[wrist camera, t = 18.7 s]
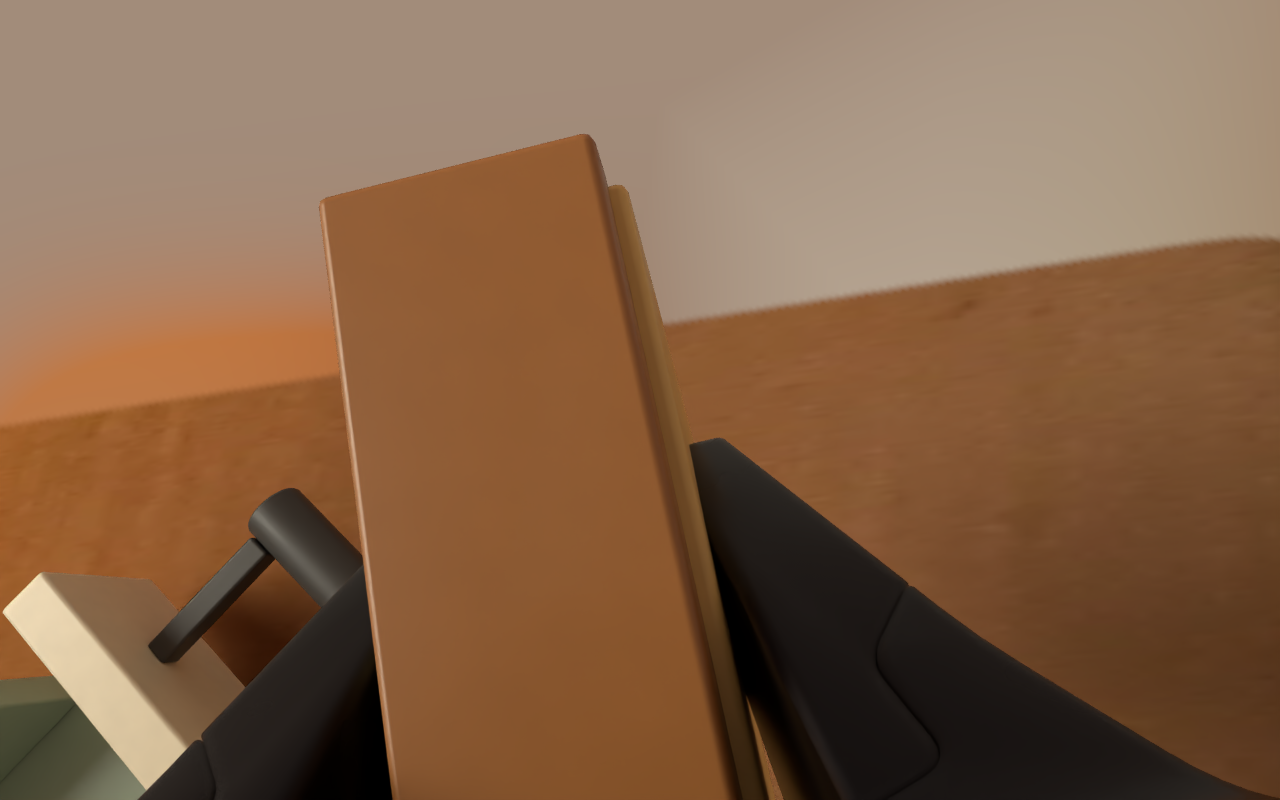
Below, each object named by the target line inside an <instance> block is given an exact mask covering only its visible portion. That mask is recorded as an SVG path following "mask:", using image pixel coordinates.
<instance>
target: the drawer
mask: <svg viewBox="0 0 1280 800" xmlns="http://www.w3.org/2000/svg"><path fill="white" fill-rule="evenodd" d="M248 527H249V531H250V532H251V533H252V534H253V535H254V536H255V537H256V538H250V539H249V540H248V541H247V542H246V543H245V544H244V545H243V546H242V547H241V548H240V549H239V550H238V551H237V553H236V554H235V555H234V556H233V557H232V558H231V559H230V560H229V561H228V562H227V563H226V564H225V565H224V566H223V567H222V568H221V569H220V570H219V571H218V572H217V573H216V574H215V575H214V576H213V578H212V579H211V580H210V581H209V582H208V583H207V584H206V585H205V586H204V587H203V588H202V589H201V590H200V591H199V592H198V593H197V594H196V595H195V596H194V597H193V598H192V599H191V600H190V602H189V603H188V604H187V605H186V606H185V607H184V608H183V609H182V610H181V611H180V612H179V611H178V610H177V609H176V608H175V607H174V605H173V604H172V603H171V602H170V601H169V600H168V599H167V597H166V596H165V595H164V594H163V593H162V592H161V591H160V589H159V588H158V587H157V586H156V585H155V584H154V583H153V582H152V580H149V579H137V578H123V577H109V576H94V575H80V574H66V573H51V572H42V573H40V574H38V575H37V576H36V577H35V578H34V579H33V580H32V581H31V582H30V583H29V584H28V586H27V587H26V588H25V589H24V590H23V591H22V592H21V593H20V594H19V595H18V596H17V597H16V598H15V599H14V600H13V601H12V602H11V603H10V604H9V605H8V606H7V607H6V608H5V609H4V611H3V613H4V615H5V616H6V617H7V619H8V620H9V621H10V622H11V623H12V625H13V626H14V627H15V628H16V630H17V631H18V632H19V633H20V635H21V636H22V637H23V638H24V640H25V641H26V642H27V643H28V645H29V646H30V647H31V648H32V649H33V651H34V652H35V653H36V654H37V656H38V657H39V658H40V659H41V661H42V662H43V663H44V664H45V666H46V667H47V668H48V669H49V671H50V672H51V673H52V674H53V675H54V676H44V677H31V678H19V679H7V680H0V800H137V799H138V798H139V797H140V796H141V795H142V794H143V793H144V792H145V791H146V790H147V789H148V788H149V787H150V786H151V785H152V784H153V783H154V782H155V781H156V780H157V779H158V778H159V777H160V776H161V775H162V774H163V773H164V772H165V771H166V770H167V769H168V768H169V767H170V766H171V765H172V764H173V763H174V762H175V761H176V760H177V759H178V757H179V756H180V755H181V754H182V753H183V752H184V751H185V750H186V749H187V748H188V747H189V746H190V745H191V744H192V743H193V742H194V741H195V740H201V741H202V738H201V735H202V733H203V731H204V730H205V729H206V728H207V727H208V726H209V725H210V724H211V723H212V722H213V721H214V720H215V719H216V718H217V717H218V716H219V715H220V714H221V713H222V712H223V711H224V709H225V708H226V707H227V706H228V705H229V704H230V703H231V702H232V701H233V700H234V699H235V698H236V697H237V696H238V695H239V694H240V693H241V692H242V691H243V690H244V689H245V686H244V685H243V684H242V683H241V682H240V681H239V680H238V678H237V677H236V676H235V675H234V674H233V673H232V672H231V670H230V669H229V668H228V667H227V666H226V665H225V664H224V662H223V661H222V660H221V659H220V658H219V657H218V656H217V654H216V653H215V652H214V651H213V650H212V649H211V648H210V647H209V645H208V644H207V643H206V642H205V641H204V640H203V639H202V637H201V636H202V635H203V634H204V633H205V632H206V631H207V630H208V629H209V628H210V627H211V626H212V625H213V624H214V623H215V622H216V621H217V620H218V619H219V618H220V616H221V615H222V614H223V613H224V612H225V611H226V610H227V609H228V608H229V607H230V606H231V605H232V604H233V603H234V602H235V601H236V600H237V599H238V598H239V596H240V595H241V594H242V593H243V592H244V591H245V590H246V589H247V588H248V587H249V586H250V585H251V584H252V583H253V582H254V581H255V580H256V579H257V578H258V577H259V575H260V574H261V573H262V572H263V571H264V570H265V569H266V568H267V567H268V566H269V565H270V564H271V563H272V562H273V561H274V560H275V559H276V560H277V561H278V562H279V563H280V564H281V565H282V566H283V567H284V568H285V570H286V571H287V572H288V573H289V574H290V575H291V576H292V577H293V578H294V579H295V580H296V581H297V582H298V583H299V585H300V586H301V587H302V588H303V589H304V590H305V591H306V592H307V593H308V594H309V595H310V596H311V597H312V598H313V600H314V601H315V602H316V603H317V604H318V605H319V606H320V607H321V608H322V607H323V606H324V605H325V604H326V603H327V602H328V601H329V600H330V598H331V597H332V596H333V595H334V594H335V593H336V592H337V591H338V590H339V589H340V588H341V587H342V586H343V585H344V584H345V583H346V582H347V581H348V580H349V579H350V578H351V576H352V575H353V574H354V573H355V572H356V571H357V570H358V569H359V568H360V567H361V566H362V565H363V557H362V555H361V554H360V552H359V551H358V550H357V549H356V548H355V547H354V546H353V545H352V544H351V543H350V542H349V541H348V540H347V539H346V538H345V537H344V536H343V535H342V534H341V533H340V532H339V531H338V530H337V529H336V528H335V527H334V526H333V525H332V524H331V523H330V522H329V521H328V519H327V518H326V517H325V516H324V515H323V514H322V513H321V512H320V511H319V510H318V509H317V508H316V507H315V506H314V505H313V504H312V503H311V502H310V501H309V500H308V499H307V498H306V497H305V496H304V495H303V494H302V493H301V492H300V491H299V490H298V489H295V488H287V489H284V490H281V491H279V492H277V493H275V494H274V495H272V496H270V497H269V498H268V499H266V500H265V501H264V502H263V503H262V504H261V505H260V506H259V507H258V508H257V509H256V510H255V511H254V513H253V514H252V516H251V518H250V520H249V523H248Z"/></svg>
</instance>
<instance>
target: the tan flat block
mask: <svg viewBox="0 0 1280 800" xmlns="http://www.w3.org/2000/svg"><path fill="white" fill-rule="evenodd" d="M319 211H320V219H321V227H322V235H323V243H324V251H325V259H326V267H327V275H328V283H329V291H330V299H331V308H332V315H333V323H334V332H335V340H336V347H337V356H338V364H339V372H340V380H341V388H342V396H343V404H344V412H345V420H346V428H347V436H348V444H349V452H350V460H351V468H352V477H353V485H354V493H355V501H356V509H357V517H358V525H359V533H360V541H361V549H362V557H363V565H364V573H365V581H366V589H367V597H368V605H369V613H370V621H371V629H372V637H373V645H374V654H375V662H376V670H377V678H378V686H379V694H380V702H381V710H382V718H383V726H384V734H385V742H386V750H387V758H388V766H389V774H390V782H391V790H392V798H393V800H775V795H774V791H773V787H772V782H771V778H770V774H769V769H768V765H767V761H766V756H765V752H764V747H763V743H762V739H761V735H760V732H759V729H758V727H757V724H756V721H755V718H754V716H753V713H752V710H751V707H750V705H749V702H748V699H747V696H746V693H745V689H744V684H743V680H742V676H741V672H740V668H739V664H738V659H737V655H736V651H735V647H734V643H733V639H732V635H731V630H730V626H729V622H728V618H727V614H726V610H725V606H724V601H723V597H722V593H721V589H720V585H719V581H718V576H717V572H716V568H715V564H714V560H713V556H712V552H711V547H710V543H709V539H708V535H707V531H706V526H705V521H704V516H703V511H702V507H701V502H700V497H699V492H698V487H697V482H696V477H695V472H694V467H693V462H692V457H691V452H690V447H689V444H693V443H694V442H693V438H692V434H691V429H690V425H689V421H688V417H687V414H686V410H685V406H684V402H683V398H682V395H681V391H680V387H679V383H678V379H677V375H676V372H675V368H674V364H673V360H672V356H671V353H670V349H669V345H668V341H667V337H666V334H665V330H664V326H663V322H662V318H661V315H660V311H659V307H658V303H657V300H656V296H655V292H654V288H653V284H652V280H651V277H650V273H649V269H648V265H647V261H646V258H645V254H644V250H643V246H642V242H641V239H640V235H639V231H638V227H637V223H636V219H635V216H634V212H633V208H632V204H631V201H630V197H629V193H628V191H627V190H626V189H625V187H623V186H622V185H613V186H610V187H608V185H607V181H606V177H605V173H604V170H603V166H602V163H601V160H600V157H599V153H598V150H597V147H596V144H595V142H594V140H593V139H592V138H591V137H590V136H589V135H586V134H580V135H576V136H572V137H568V138H564V139H559V140H555V141H552V142H547V143H543V144H540V145H536V146H531V147H527V148H523V149H519V150H516V151H511V152H507V153H504V154H499V155H495V156H491V157H487V158H483V159H479V160H475V161H471V162H467V163H463V164H459V165H455V166H451V167H447V168H443V169H439V170H435V171H431V172H427V173H423V174H419V175H415V176H411V177H407V178H403V179H399V180H395V181H391V182H387V183H383V184H379V185H375V186H371V187H367V188H363V189H359V190H355V191H351V192H347V193H343V194H339V195H335V196H331V197H327V198H325V199H323V200H321V201H320V205H319Z"/></svg>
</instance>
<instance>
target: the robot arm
mask: <svg viewBox="0 0 1280 800" xmlns="http://www.w3.org/2000/svg"><path fill="white" fill-rule="evenodd" d="M689 447H690V452H691V457H692V462H693V467H694V472H695V477H696V482H697V487H698V492H699V497H700V502H701V507H702V511H703V516H704V521H705V526H706V531H707V535H708V539H709V543H710V547H711V552H712V556H713V560H714V564H715V568H716V572H717V576H718V581H719V585H720V589H721V593H722V597H723V601H724V606H725V610H726V614H727V618H728V622H729V626H730V630H731V635H732V639H733V643H734V647H735V651H736V655H737V659H738V664H739V668H740V672H741V676H742V680H743V684H744V689H745V693H746V696H747V699H748V702H749V705H750V707H751V710H752V713H753V716H754V718H755V721H756V724H757V727H758V729H759V732H760V735H761V738H762V740H763V743H764V746H765V749H766V751H767V754H768V757H769V760H770V763H771V765H772V768H773V771H774V774H775V776H776V779H777V782H778V785H779V787H780V790H781V793H782V796H783V798H784V800H1280V798H1276V797H1271V796H1268V795H1264V794H1260V793H1256V792H1253V791H1250V790H1247V789H1244V788H1242V787H1239V786H1236V785H1234V784H1231V783H1229V782H1226V781H1223V780H1221V779H1219V778H1217V777H1215V776H1212V775H1210V774H1208V773H1206V772H1204V771H1202V770H1200V769H1198V768H1195V767H1194V766H1192V765H1190V764H1188V763H1186V762H1185V761H1183V760H1181V759H1179V758H1178V757H1176V756H1174V755H1172V754H1170V753H1169V752H1167V751H1165V750H1164V749H1162V748H1160V747H1159V746H1157V745H1155V744H1154V743H1152V742H1150V741H1149V740H1147V739H1145V738H1144V737H1142V736H1140V735H1139V734H1137V733H1136V732H1134V731H1132V730H1131V729H1129V728H1127V727H1126V726H1124V725H1122V724H1121V723H1119V722H1117V721H1116V720H1114V719H1112V718H1111V717H1109V716H1107V715H1106V714H1104V713H1102V712H1101V711H1099V710H1097V709H1096V708H1094V707H1092V706H1091V705H1089V704H1088V703H1086V702H1084V701H1083V700H1081V699H1079V698H1078V697H1076V696H1074V695H1073V694H1071V693H1069V692H1068V691H1066V690H1064V689H1063V688H1061V687H1059V686H1058V685H1056V684H1054V683H1053V682H1051V681H1049V680H1048V679H1046V678H1045V677H1043V676H1041V675H1040V674H1038V673H1036V672H1035V671H1033V670H1031V669H1030V668H1028V667H1027V666H1025V665H1024V664H1022V663H1020V662H1019V661H1017V660H1016V659H1014V658H1013V657H1011V656H1010V655H1008V654H1006V653H1005V652H1003V651H1002V650H1000V649H999V648H997V647H996V646H994V645H992V644H991V643H989V642H988V641H986V640H985V639H983V638H981V637H980V636H979V635H977V634H976V633H975V632H973V631H972V630H970V629H969V628H968V627H966V626H965V625H964V624H962V623H961V622H959V621H958V620H957V619H955V618H954V617H953V616H951V615H950V614H948V613H947V612H946V611H944V610H943V609H942V608H940V607H939V606H938V605H936V604H935V603H934V602H932V601H931V600H930V599H929V598H927V597H926V596H925V595H924V594H922V593H921V592H920V591H919V590H917V589H916V588H915V587H913V586H909V585H908V583H907V582H906V581H905V580H904V579H903V578H901V577H900V576H899V575H898V574H896V573H895V572H894V571H892V570H891V569H890V568H889V567H887V566H886V565H885V564H883V563H882V562H881V561H880V560H878V559H877V558H876V557H874V556H873V555H872V554H871V553H869V552H868V551H867V550H866V549H864V548H863V547H862V546H860V545H859V544H858V543H857V542H855V541H854V540H853V539H851V538H850V537H849V536H848V535H846V534H845V533H844V532H842V531H841V530H840V529H839V528H837V527H836V526H835V525H833V524H832V523H831V522H830V521H828V520H827V519H826V518H825V517H823V516H822V515H821V514H819V513H818V512H817V511H816V510H814V509H813V508H812V507H810V506H809V505H808V504H807V503H805V502H804V501H803V500H801V499H800V498H799V497H798V496H796V495H795V494H794V493H792V492H791V491H790V490H789V489H787V488H786V487H785V486H784V485H782V484H781V483H780V482H778V481H777V480H776V479H775V478H773V477H772V476H771V475H769V474H768V473H767V472H766V471H764V470H763V469H762V468H760V467H759V466H758V465H757V464H755V463H754V462H753V461H751V460H750V459H749V458H748V457H746V456H745V455H744V454H743V453H741V452H740V451H739V450H737V449H736V448H735V447H734V446H732V445H731V444H730V443H728V442H727V441H726V440H725V439H722V438H714V439H710V440H706V441H701V442H697V443H693V444H689ZM201 738H202V741H201V740H195V741H194V742H193V743H192V744H191V745H190V746H189V747H188V748H187V749H186V750H185V751H184V752H183V753H182V754H181V755H180V756H179V757H178V759H177V760H176V761H175V762H174V763H173V764H172V765H171V766H170V767H169V768H168V769H167V770H166V771H165V772H164V773H163V774H162V775H161V776H160V777H159V778H158V779H157V780H156V781H155V782H154V783H153V784H152V785H151V786H150V787H149V788H148V789H147V790H146V791H145V792H144V793H143V794H142V795H141V796H140V797H139V798H138V799H137V800H393V798H392V790H391V782H390V774H389V766H388V758H387V750H386V742H385V734H384V726H383V718H382V710H381V702H380V694H379V686H378V678H377V670H376V662H375V654H374V645H373V637H372V629H371V621H370V613H369V605H368V597H367V589H366V581H365V573H364V565H362V566H361V567H360V568H359V569H358V570H357V571H356V572H355V573H354V574H353V575H352V576H351V578H350V579H349V580H348V581H347V582H346V583H345V584H344V585H343V586H342V587H341V588H340V589H339V590H338V591H337V592H336V593H335V594H334V595H333V596H332V597H331V598H330V600H329V601H328V602H327V603H326V604H325V605H324V606H323V607H322V608H321V609H320V610H319V611H318V612H317V613H316V614H315V615H314V616H313V617H312V618H311V619H310V621H309V622H308V623H307V624H306V625H305V626H304V627H303V628H302V629H301V630H300V631H299V632H298V633H297V634H296V635H295V636H294V637H293V638H292V639H291V640H290V641H289V642H288V644H287V645H286V646H285V647H284V648H283V649H282V650H281V651H280V652H279V653H278V654H277V655H276V656H275V657H274V658H273V659H272V660H271V661H270V662H269V663H268V664H267V666H266V667H265V668H264V669H263V670H262V671H261V672H260V673H259V674H258V675H257V676H256V677H255V678H254V679H253V680H252V681H251V682H250V683H249V684H248V685H247V686H246V687H245V689H244V690H243V691H242V692H241V693H240V694H239V695H238V696H237V697H236V698H235V699H234V700H233V701H232V702H231V703H230V704H229V705H228V706H227V707H226V708H225V709H224V711H223V712H222V713H221V714H220V715H219V716H218V717H217V718H216V719H215V720H214V721H213V722H212V723H211V724H210V725H209V726H208V727H207V728H206V729H205V730H204V731H203V733H202V735H201Z"/></svg>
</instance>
